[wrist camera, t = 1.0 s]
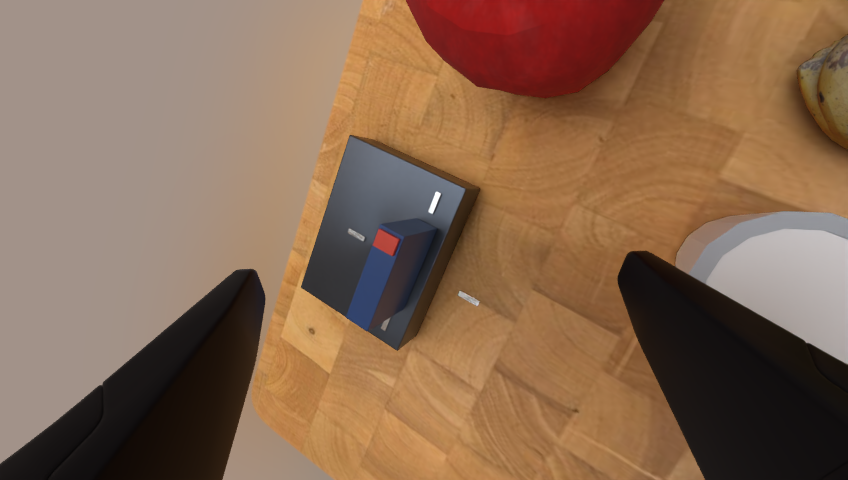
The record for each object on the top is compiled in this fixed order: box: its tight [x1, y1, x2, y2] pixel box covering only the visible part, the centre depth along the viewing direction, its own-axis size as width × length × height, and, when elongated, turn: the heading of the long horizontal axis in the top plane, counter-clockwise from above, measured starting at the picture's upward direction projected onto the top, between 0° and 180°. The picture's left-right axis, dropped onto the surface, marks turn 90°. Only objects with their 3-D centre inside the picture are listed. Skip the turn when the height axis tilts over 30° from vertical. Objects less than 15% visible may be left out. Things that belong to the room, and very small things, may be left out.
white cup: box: [675, 211, 848, 364], centre depth 18 cm, size 7×7×7 cm
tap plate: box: [301, 135, 480, 350], centre depth 27 cm, size 12×13×3 cm
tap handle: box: [346, 218, 437, 331], centre depth 23 cm, size 6×2×5 cm, turn 156°
